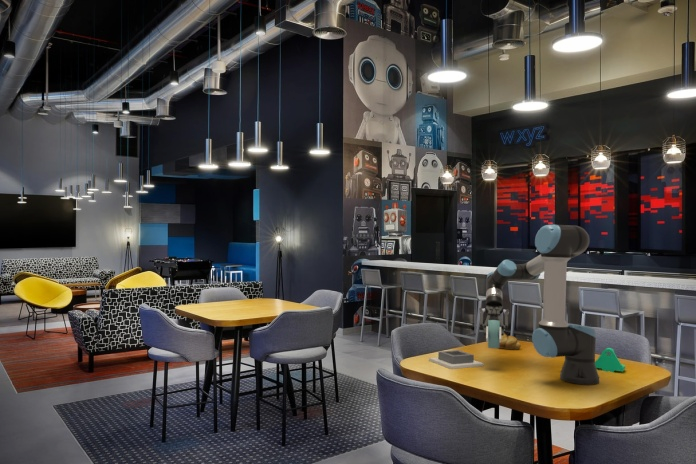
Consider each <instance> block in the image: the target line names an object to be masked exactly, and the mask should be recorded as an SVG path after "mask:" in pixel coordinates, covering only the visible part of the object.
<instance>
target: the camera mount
mask: <svg viewBox="0 0 696 464" xmlns="http://www.w3.org/2000/svg"><path fill="white" fill-rule="evenodd" d="M608 352H609V353H610V354H608ZM595 365H596V369H600V370H603V372H608V371H610V372H609V373H615V372H614V371H616V372H624V371H625V369H626V365H625V364H622V363H621V362H620V360H619V358H618V357H617V355H616V353H615V350H614V349H613V348H611V347H607V348H605V349H604V350H603V351H602V352H601V353H600V355H599V356H598V357H597V359H595Z"/></svg>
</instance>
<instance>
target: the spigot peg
mask: <svg viewBox="0 0 696 464" xmlns="http://www.w3.org/2000/svg"><path fill="white" fill-rule="evenodd" d="M499 328H500V321H498V319H497V320H496V319H490V320H488V342H487V348H489V349H496V350H497V349H500V348H499Z"/></svg>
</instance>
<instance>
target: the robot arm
mask: <svg viewBox="0 0 696 464" xmlns="http://www.w3.org/2000/svg"><path fill="white" fill-rule="evenodd" d="M539 228H540V229H538V231H537V233H536V235H535V239H534V246H535V248H536V250H537V251H538V253H540V254H539V255H537V256H536V257H534V258H532V259H531V260H529V261H528V262H527V261H526V263H522V264H520V263H519V264H516V263H515V261H513V260H510V259H504V260H502V261H501V262H500V263H499V264H498V266H497V268H495V270H494V271H491V272H488V274H487V275H486V280H485V282H486V284H485V285H486V289H485V290H486V291H485V292H486V293H485V307H484V308H482V307H480V308H479V309H478V311H479V315H480V317H479V328H480V329H483V334H484V335H485V341H486V342H487V343H488V320H492V319H491V318H493V317H496V318H497V320H498V321H500V328H499V342H500V343H501V336H503V335H504V334H505V330H509V313H510V310H509V308H507V309H504V307H503V288H504V286H505V285H506V283H507V282H508V281H535V280H538V279H539V278H540V276H541V274H542V273H544V274H543V298H542V299H543V301H542V319H541V320H540V321H539V322H538V328H536V329H534V331H532V335H531V340H532V344H533V347H534V349H535V351H536V352H537V354H538V355H540V356H541V357H544V358H560V357H564V362H563V363H562V364H563V365H562V367H561V371H560V373H559V378H560V380H561V381H564V382H567V383H571V384H577V385H589V386H590V385H599V384H600V376H599V374H598V373H599V372H598V370H597V369H598V368H596V365H595V362H596V339H597V337H596V330H595V328H593V327H592V326H588V325H582V324H581V325H580V324H576V323H568V321H566V302H567V301H566V300H567V298H566V297H567V296H566V295H567V271H568V269H567V268H568V267H567V265H568V261H570V260H571V259H572V258H575V257H577V256H580V255H581V254H582V253H584V252H586V250H587V248H588V247H589V245H590V235H589V234H588V232H587V231H586V230H585V228H583V227H582V226H578V225H574V224H573V225H571V224H570V225H568V224H567V225H566V224H565V225H564V224H546V225H543V226H541V227H539ZM485 313H486V315H487V316H486V318H485V320H484V314H485ZM502 314H504V322H503V318H502V317H501V316H502ZM483 322H484V323H483Z"/></svg>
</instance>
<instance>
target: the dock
mask: <svg viewBox="0 0 696 464" xmlns="http://www.w3.org/2000/svg"><path fill="white" fill-rule="evenodd" d="M474 356H475V355H474V354H472V353H469V352H467V351H466V352H465V351H463V350H459V349H454V350H442V351H438V356H437V357H428V361H429V362H431V363H434V364H437V365H440V366H441V367H445V368H447V369H450V370H454V369H455V370H456V369H464V368H465V369H467V368H477V367H484V364H485V363H484V362H480V361H477V360H475V359H474V358H475V357H474Z"/></svg>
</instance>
